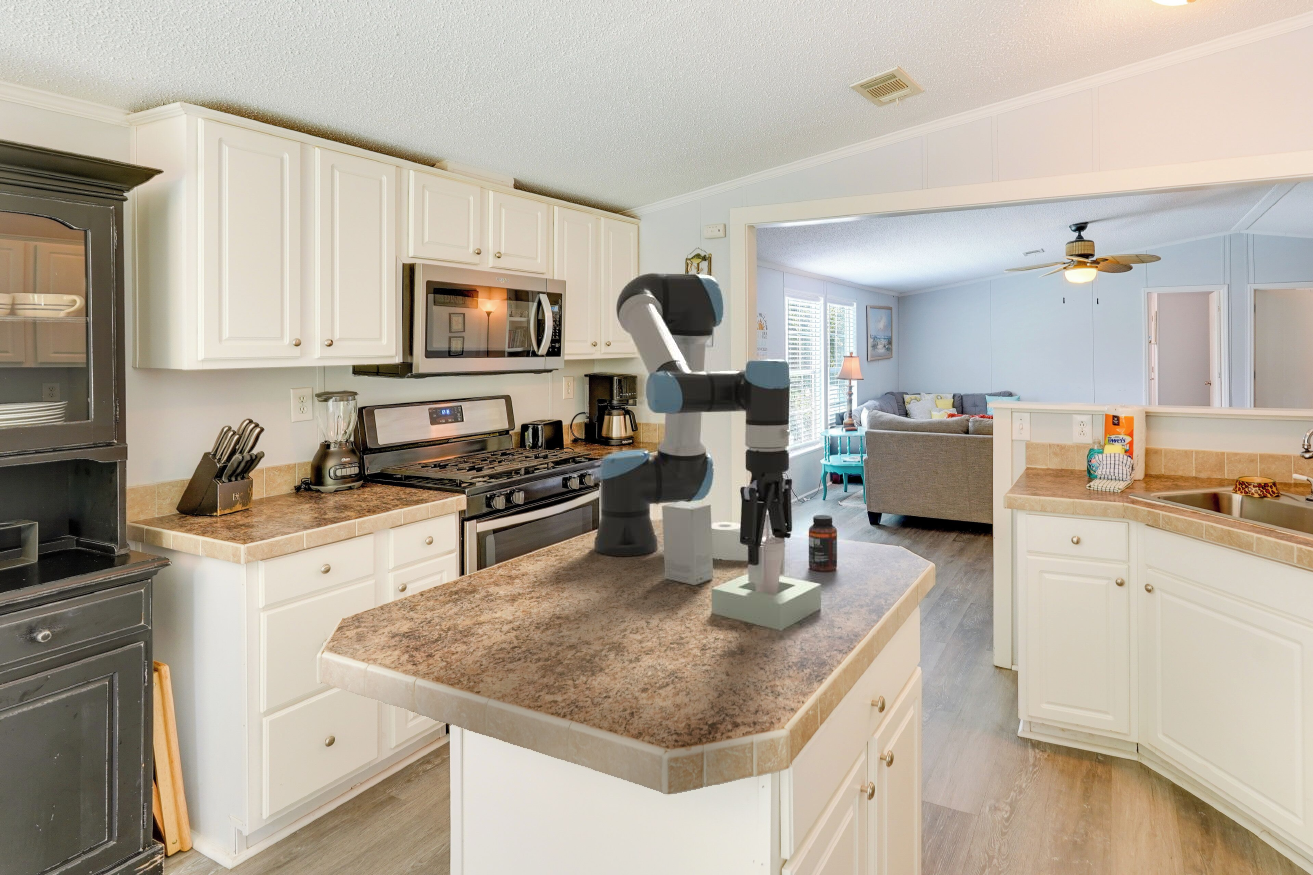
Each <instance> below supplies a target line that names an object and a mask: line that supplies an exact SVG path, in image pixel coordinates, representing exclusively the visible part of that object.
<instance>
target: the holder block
mask: <svg viewBox="0 0 1313 875" xmlns="http://www.w3.org/2000/svg"><path fill="white" fill-rule="evenodd" d="M821 609H822V583H817V582H812V581H807V580H802V579H797V578H792V577H787V576H783V575H780V577H779V585H778V592H777V594H776V595H770V594H765V593H761V592H756V587H755V583H754V582H749V581H748V573H745V574H743V575H741V576H739V577H736V578H734V579H731V580H729V581H726V582H723V583H721V584H719V585H716V586H714V587H712V588H711V614H713V615H718V616H722V617H725V618H730V619H734V620H737V621H741V622H745V623H749V624H753V625H758V626H761V627H764V628H769V629H773V630H777V631H780V632H781V631H783V630H785V629H786V628H788V627H790V626H792V625H793V624H795V623H798V622H799V621H801V620H803V619H805V618H806V617H807V618H808V616H810V615H812V614H814V613H815V612H817V611H819V610H821Z"/></svg>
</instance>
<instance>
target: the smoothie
mask: <svg viewBox="0 0 1313 875" xmlns="http://www.w3.org/2000/svg"><path fill="white" fill-rule="evenodd" d="M785 540H786V539H785ZM785 540H783V539H781V538H777V537H775V536H770V519H769V514H768V515H767V514H766V519H765V536H764V535H763V536H762V542H761V546H764V583H763V584H758V583H755V587H756V592H761V593H765V594H770V595H776V594H777V592H778V585H779V577H780V576H781V575H780V570H781V562H782V555H783V548H784V547H785V548H786V541H785Z"/></svg>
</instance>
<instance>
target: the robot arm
mask: <svg viewBox="0 0 1313 875" xmlns="http://www.w3.org/2000/svg"><path fill="white" fill-rule="evenodd" d="M615 308H616V309H615V310H616V317H617V319H618V322H619V324H620V326H621V327H622V329H623V330H624V331H625V332H627V333H628V334H630V337H631V338H632V341H633V342H634V345H635V347H636V349H637V351H638V353H639V355H640V357H641V360H642V363H643V364H644V366H645V368H646V370H647V372H648V376H647V379H646V383H645V384H646V385H645V395H646V402H647V403H646V404H647V406H648V408H649V410H650V411H651V412H652V413H656V414H665V418H664V437H663V438H664V439H663V441H661V442H660V443H659V444H658V445H657V453H656V454H654V455H653V454H652V455H651V453H650V451H649V450H647V449H641V448H640V449H628V450H627V449H626V450H621V451H617V452H613V453H609V454H607V455H605V456H604V457H603V458H602V459H601V460H600V471H599V479H600V512H601V513H600V521H599V524H598V527H597V532H596V536H595V537H594V539H593V540H594V545H593V546H594V551H595V552H597V553H599V554H602V555H606V556H615V557H632V556H641V555H647V554H651V553H653V552H655V551H657V549H658V538H657V535H656V533H655V529H654V525H653V522H652V520H651V519H652V518H651V505H652V504H653V505H654V504H656V505H657V504H672V503H676V502H680V501H685V502H694V501H696V502H697V501H701V500H703V499H705V498H706V497H707V495H708V494H709V493H710V490H711V489H712V485H713V480H714V475H715V474H714V473H715V472H714V467H713V466H714V462H713V458H712V456H711V455H710V454H709V453H707V449H706V446H705V445H704V444H703V443H702V442H701V431H702V430H701V429H702V413H725V412H726V413H727V412H728V413H730V412H745V433H744V434H745V440H744V446H745V447H747V448H748V449H746V451H745V470H746V471H747V472H750V474H751V477H750V481H749V485H747V486H741V487H740V489H739V491H740V500H741V508H740V509H741V510H740V511H741V512H740V524H741V526H740V543H741V544H743V545H747V546H748V561H747V563H748V565H747V567H748V568H747V570H748V572H747V574H748V581H749V582H754V583H758V584H763V583H764V546H761V542H762V537H763V536H764V531H765V530H764V529H765V525H766V515H767V513H768V515H769V525H770V528H771V534H772V537H777V538H781V539H783V540H786V539H790V538H791V537H792V533H791V532H792V530H793V514H792V512H793V511H792V486H793V485H792V484H793V480H792V478H786V477H784V475H783V473H785V472H788V470H789V469H790V451H789V450H788V449H786V448H788V447H789V445H790V444H789V442H790V440H789V439H790V435H791V432H790V428H789V426H790V425H789V424H790V393H791V389H790V387H791V379H790V366H789V362H787V360H785V359H750V360H748V361H747V362H746V364H745V370H744V369H741V370H739V369H735V370H712V371H711V370H710V371H709V370H705V358H706V357H705V356H706V343H707V341H708V340H710V339H711V338H712V337H713V334H714V333H713V332H714V331H713V330H714V328H716V327H718V326H720V325H721V323H722V321H723V320H722V319H723V318H724V299H723V294H722V291H721V288H720V284H719V283H718V281H717V280H716V279H715V278H714V277H713V276H711V275H709V274H708V275H707V274H706V275H705V274H697V273H655V272H653V273H652V272H651V273H646V274H645V273H644V274H642V275H639V276H637V277H635V278H634V279H631V281H629V282H628V283H627V284H626V285H625V286H624V287H623V288H622V290H621V291H620V294H619V295H618V298H617V301H616V307H615ZM767 511H768V512H767ZM785 548H786V546H785V547H784V548H783V555H782V562H781V570H780V576H783V575H785V567H786V566H785V563H786V562H785V561H786V560H785V558H786V555H785V554H786V552H785V551H786V550H785Z"/></svg>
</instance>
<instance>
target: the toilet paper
mask: <svg viewBox="0 0 1313 875" xmlns="http://www.w3.org/2000/svg"><path fill="white" fill-rule="evenodd" d="M740 526H741V523H738V522H734V521H733V522H732V521H731V522H730V521H717V522H711V530H712V558H714V560H719V559H722V560H723V561H745V562H748V546H747V545H743V544H741V543H740Z"/></svg>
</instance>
